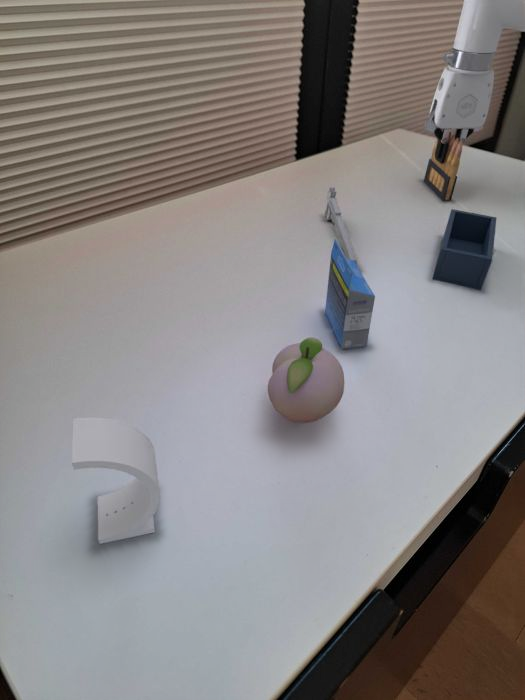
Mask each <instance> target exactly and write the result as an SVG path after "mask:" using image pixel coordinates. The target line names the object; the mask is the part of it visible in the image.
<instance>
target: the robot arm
mask: <svg viewBox="0 0 525 700" xmlns="http://www.w3.org/2000/svg"><path fill="white" fill-rule="evenodd" d="M458 20H459V21H458V25H457V29H456V32H455V33H456V34H455V38H454V42H453V45H452V48H451V50H450V52H449V53H444V55H443V62H444V63H447V64H448V66H445V67H444V69H443V71H442V74H441V75H440V78H439V80H438V83H437V85H436V89H435V92H434V95H433V99H432V102H431V106H430V110H429V115H428V118H427V120H426V122H425V124H424V126H423V128H424V129H425V130H426V131H427V132H429V133H432V134H433V135H434V136H435V137H436V140H437V139H438V143H437V147H436V151H435V159H436V160H437V161H438V162H439V163H440V164H442V163H444V162H445V158H446V154H447V151H448V147H449V144H448V143H447V141H448V137H449V132H451V130H455V131H454V134H453V135H455V140H456V138H458V139H459V143H460V141H461V140H462V143H463V144H464V143H465V142H466V140H467V138H469V137H470V136H471V135H472V134H474V133H477V132H479V131H482V130H483V129H484V125H485V123H486V120H487V117H488V113H489V110H490V105H491V99H492V95H493V89H494V82H495V81H494V80H495V70H493V69H492V67H493V63H494V59H495V57H496V53H497V49H498V45H499V42H500V39H501V35H502V33H503V32H502V31H503V30H504V29H506V30H507V29H508V30H513V31H518V32H524V33H525V0H463V4H462V8H461V13H460V15H459V19H458Z"/></svg>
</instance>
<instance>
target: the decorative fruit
mask: <svg viewBox="0 0 525 700" xmlns="http://www.w3.org/2000/svg"><path fill="white" fill-rule="evenodd" d="M271 373H272V374H271V376H270V378H269V380H268V383H267V395H268V399H269V401H270V403H271V405H272V407H273V408H274V410H275V411H276V412H277V413H278V414H279V415H280V416H282V417H283V418H284V419H285V420H287V421H290V422H293V423H297V424H308V423H313V422H316V421H319V420H321V419H322V418H324V417H326V416H327V415H329V414H330V413H332V412H333V411H334V410H335V409H336V408H337V407H338V405H339V404H340V402H341V401H342V398H343V396H344V393H345V392H344V391H345V375H344V370H343V367H342V364H341V362H340V361H339V360H338V358H337V357H336V356H335V355H334V354H333V353H332V352H330V351H329V350H327V349H325V348H323V343H322V342H321V340H319V339H318V338H316V337H307V338H305V339H303V340H302V341H300V342H296V343H292V344H289V345H287V346H285V347H283V348H282V349H281V350H280V351H279V352H278V353H277V355H276V356H275V357H274V359H273V362H272V368H271Z"/></svg>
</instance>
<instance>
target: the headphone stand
mask: <svg viewBox="0 0 525 700" xmlns="http://www.w3.org/2000/svg"><path fill="white" fill-rule="evenodd" d="M71 443H72V445H71V465H72V468H73V470H74V471H75V470H80V469H108V470H115V471H120V472H123V473H126V474H128V475H131V476H132V477H135V478H134V479H133V480H132V481H131V482H129V483H128V484H126V485H124V486H123V487H122V488H119V489H116V490H114V491H111V492H109V493H106V494H102V495H99V496H97V540H98V543H99V545H101V544H106V543H111V542H116V541H120V540H124V539H126V540H127V539H130V538H134V537H140V536H144V535H149V534H154V533H156V529H155V519H154V515H155V514H156V512H157V510H158V509H159V505H160V501H161V494H160V493H161V492H160V491H161V490H160V485H159V475H158V467H157V458H156V451H155V447H154V445H153V443H152V441H151V440H150V438H149V437H148V436H147V435H146V434H145V433H144V432H143V431H141V430H140V429H138V428H137V427H135V426H134V425H131V424H129V423H127V422H123V421H121V420H117V419H112V418H106V417H98V416H97V417H95V416H93V417H92V416H91V417H76V418H73V419H72V442H71Z"/></svg>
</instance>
